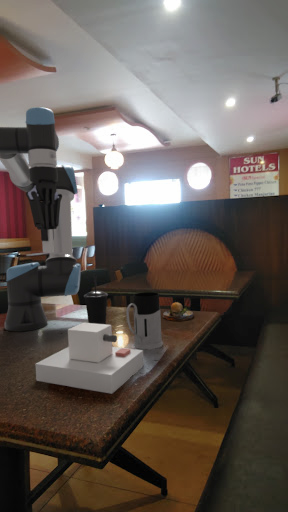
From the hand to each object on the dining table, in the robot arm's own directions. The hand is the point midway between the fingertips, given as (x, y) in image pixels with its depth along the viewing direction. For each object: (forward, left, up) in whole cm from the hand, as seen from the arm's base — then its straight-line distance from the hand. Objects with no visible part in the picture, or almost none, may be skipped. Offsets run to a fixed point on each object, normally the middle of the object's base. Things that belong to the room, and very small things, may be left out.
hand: (48, 252), depth 100 cm
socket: (+19, -10, -29) cm, 36 cm away
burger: (+21, +48, -29) cm, 60 cm away
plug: (+20, -10, -29) cm, 37 cm away
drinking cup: (+4, +17, -29) cm, 34 cm away
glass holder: (+23, +11, -29) cm, 39 cm away
